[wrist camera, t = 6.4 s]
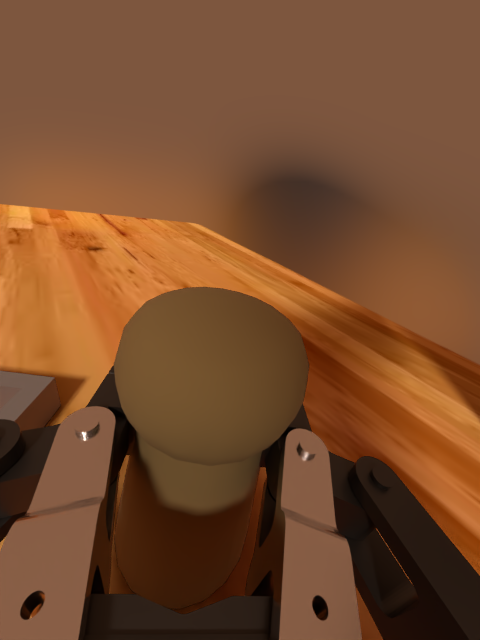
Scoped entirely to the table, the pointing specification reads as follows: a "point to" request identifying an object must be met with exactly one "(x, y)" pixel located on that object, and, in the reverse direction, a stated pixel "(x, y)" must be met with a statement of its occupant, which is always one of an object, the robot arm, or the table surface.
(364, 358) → the table surface
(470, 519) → the table surface
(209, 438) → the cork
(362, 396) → the table surface
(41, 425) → the square frame
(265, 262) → the table surface
